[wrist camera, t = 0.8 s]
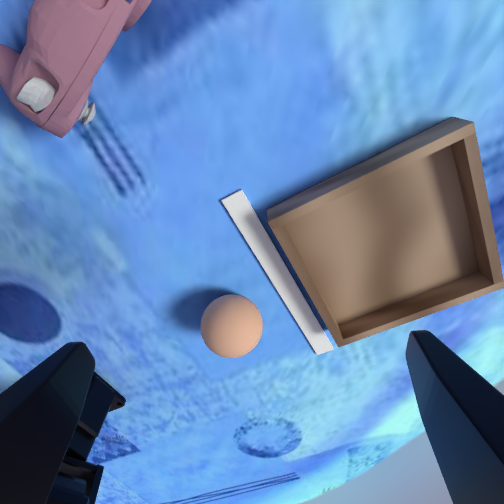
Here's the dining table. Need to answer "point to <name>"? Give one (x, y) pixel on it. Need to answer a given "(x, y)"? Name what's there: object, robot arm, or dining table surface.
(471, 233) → the tray
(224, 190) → the dining table surface
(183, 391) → the dining table surface
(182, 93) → the dining table surface
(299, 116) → the dining table surface
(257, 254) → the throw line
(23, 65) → the video game controller
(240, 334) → the ball
